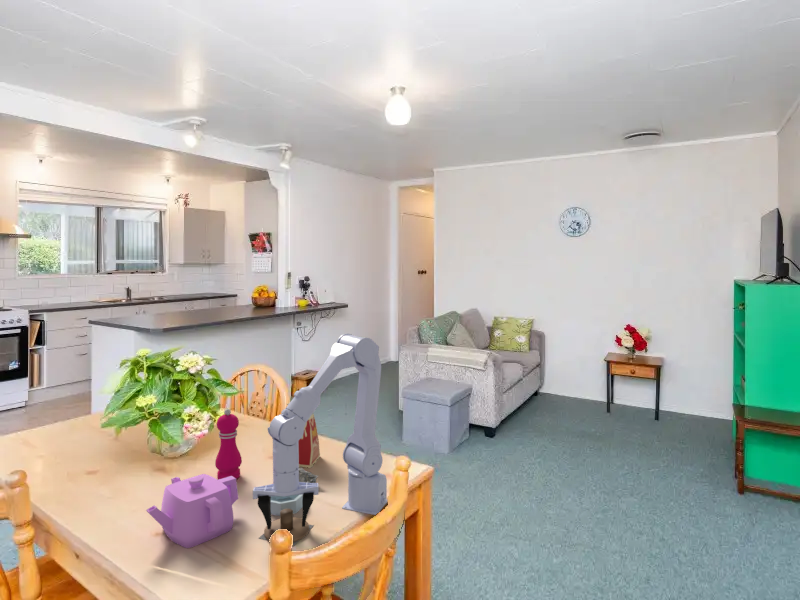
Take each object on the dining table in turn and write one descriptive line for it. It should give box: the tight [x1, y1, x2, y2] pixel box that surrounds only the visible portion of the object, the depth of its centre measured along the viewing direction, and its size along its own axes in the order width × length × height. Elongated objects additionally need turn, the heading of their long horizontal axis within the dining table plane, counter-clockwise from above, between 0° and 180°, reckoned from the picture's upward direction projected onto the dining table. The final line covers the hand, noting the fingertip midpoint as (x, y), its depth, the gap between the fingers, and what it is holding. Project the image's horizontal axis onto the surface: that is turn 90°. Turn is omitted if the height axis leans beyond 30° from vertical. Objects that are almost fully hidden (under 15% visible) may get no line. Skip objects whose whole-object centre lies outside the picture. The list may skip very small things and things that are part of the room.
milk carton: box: [286, 402, 321, 469], centre depth 153 cm, size 9×9×20 cm
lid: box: [263, 509, 310, 542], centre depth 113 cm, size 10×10×5 cm
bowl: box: [271, 494, 303, 517], centre depth 125 cm, size 9×9×4 cm
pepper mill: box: [214, 408, 243, 480], centre depth 142 cm, size 7×7×20 cm
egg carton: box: [299, 467, 319, 483], centre depth 137 cm, size 11×8×4 cm
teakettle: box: [145, 473, 239, 549], centre depth 114 cm, size 17×17×12 cm
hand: (286, 525), depth 113 cm, fingers open, 7 cm apart
